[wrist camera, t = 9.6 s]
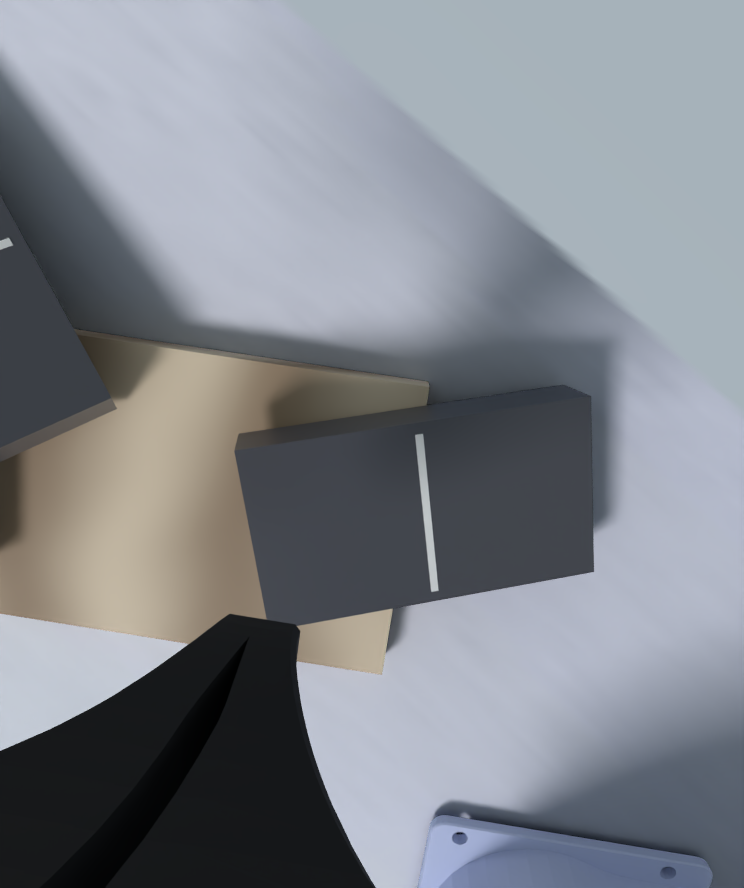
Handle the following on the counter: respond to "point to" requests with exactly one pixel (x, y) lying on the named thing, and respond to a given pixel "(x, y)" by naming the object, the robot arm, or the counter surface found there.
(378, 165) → the counter surface
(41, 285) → the domino
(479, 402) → the domino
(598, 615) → the counter surface
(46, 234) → the counter surface
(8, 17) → the counter surface
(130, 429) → the board
